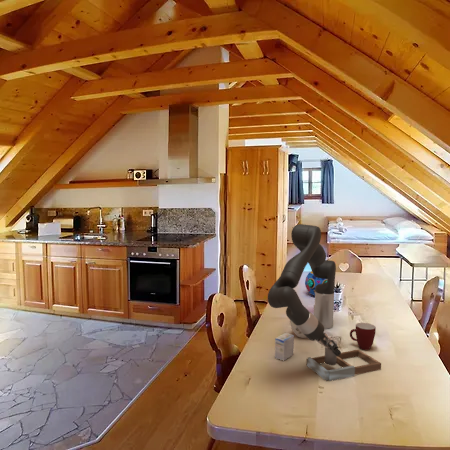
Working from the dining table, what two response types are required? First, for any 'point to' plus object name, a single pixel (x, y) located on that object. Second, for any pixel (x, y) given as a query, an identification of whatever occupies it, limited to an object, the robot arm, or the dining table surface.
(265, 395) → the dining table surface
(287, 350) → the medicine box
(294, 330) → the teacup
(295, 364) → the dining table surface
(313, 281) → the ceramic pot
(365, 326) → the mug
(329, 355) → the grey dome-topped cylinder
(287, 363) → the dining table surface
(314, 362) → the divider rack
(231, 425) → the dining table surface
